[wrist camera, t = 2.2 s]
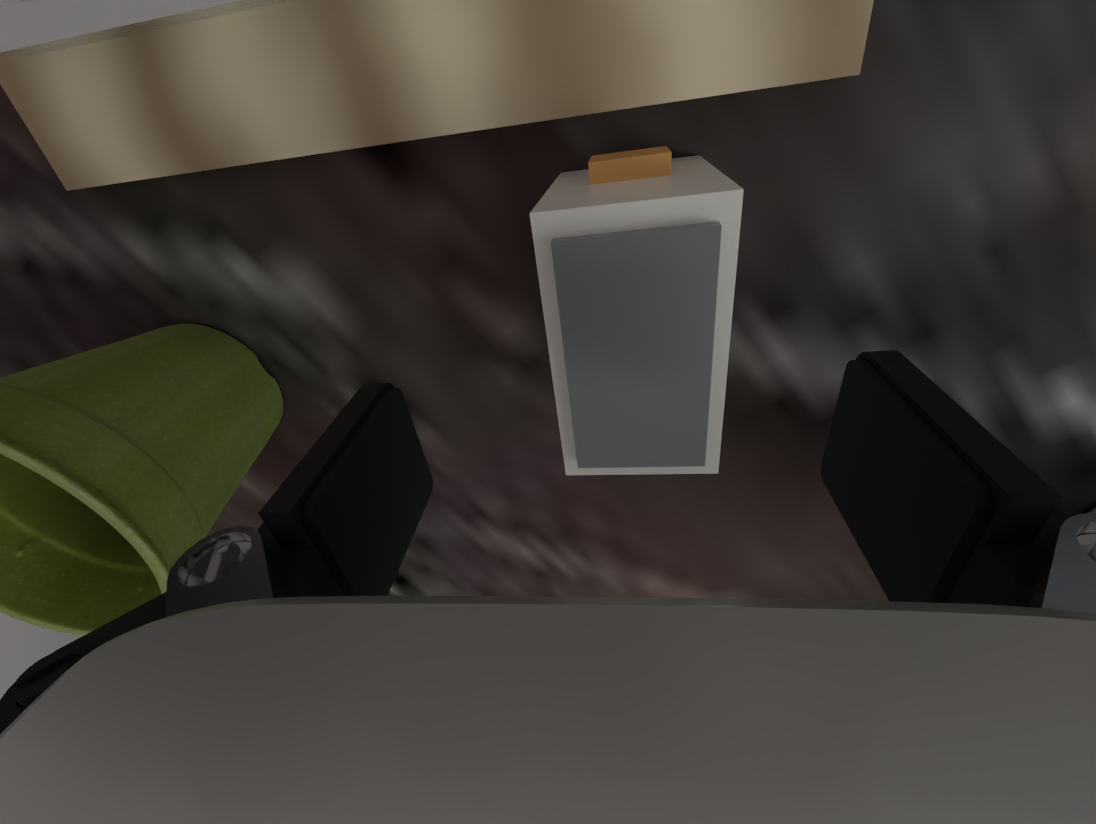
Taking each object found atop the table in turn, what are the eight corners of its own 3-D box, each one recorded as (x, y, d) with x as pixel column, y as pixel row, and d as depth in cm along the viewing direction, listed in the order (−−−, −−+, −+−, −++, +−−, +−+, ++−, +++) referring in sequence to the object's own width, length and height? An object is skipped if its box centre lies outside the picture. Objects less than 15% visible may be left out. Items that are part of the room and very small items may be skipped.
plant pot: (175, 461, 30) (-28, 627, 20) (65, 273, 23) (-309, 393, 14) (353, 475, 28) (222, 660, 19) (290, 280, 22) (44, 417, 12)
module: (699, 135, 17) (750, 161, 10) (690, 365, 22) (720, 481, 15) (559, 154, 17) (523, 189, 11) (581, 370, 22) (564, 483, 16)
